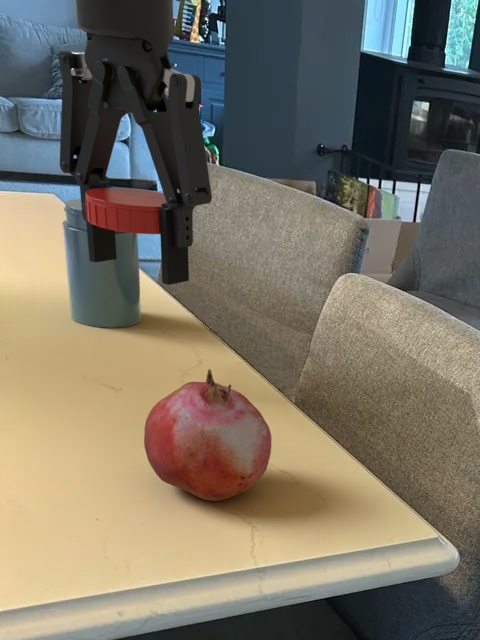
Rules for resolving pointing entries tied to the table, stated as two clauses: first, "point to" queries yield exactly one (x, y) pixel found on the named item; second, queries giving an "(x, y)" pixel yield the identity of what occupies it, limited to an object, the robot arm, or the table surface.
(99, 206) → the lid
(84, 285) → the jar
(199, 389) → the fruit
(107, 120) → the robot arm
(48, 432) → the table surface
